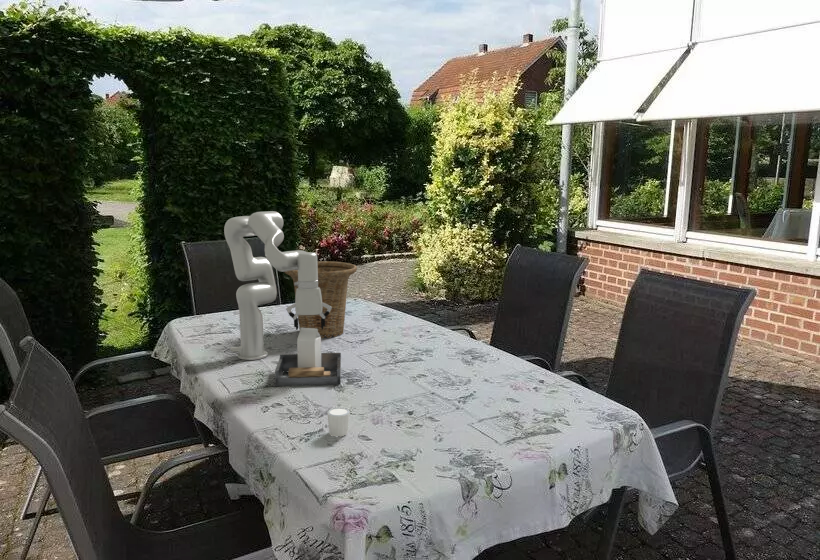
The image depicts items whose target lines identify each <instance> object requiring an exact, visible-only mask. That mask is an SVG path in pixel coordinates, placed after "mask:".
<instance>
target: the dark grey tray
mask: <svg viewBox="0 0 820 560" xmlns="http://www.w3.org/2000/svg"><path fill="white" fill-rule="evenodd" d="M341 360H342V353H341V352H321V367H324V371H330V370H334V371H336V375H331V376H319V377H290V376H287V377H286V376H285V377H283V375H284V374H283V373H284V372H283V371H289V368H298V353H280V354H279V358H278V361H277V364H276V366H275V370H274V377H275V378H274V380H275V381H274V383H275V385H274V386H275V387H290V386H291V387H292V386H293V387H295V386H296V387H297V386H300V387H301V386H329V385H331V386H332V385H336V386H337V384H340V385H341V380H342V378H341V377H342V361H341ZM330 372H331V371H330Z"/></svg>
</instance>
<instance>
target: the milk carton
mask: <svg viewBox="0 0 820 560" xmlns="http://www.w3.org/2000/svg"><path fill="white" fill-rule="evenodd" d="M296 342H297V343H296V345H297V346H296V347H297V354H298V368H308V367H321V353H322V339H321V336H320V334H319V333H318V329H313V328H300V329H299V333H298V337H297V339H296Z"/></svg>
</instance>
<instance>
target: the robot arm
mask: <svg viewBox="0 0 820 560" xmlns="http://www.w3.org/2000/svg"><path fill="white" fill-rule="evenodd" d="M283 227H284V219H283V216H282V215H281V214H280V213H279V212H277V211H275V210H274V211H273V210H272V211H271V210H270V211H269V210H268V211H256V212H253V213H251V214H250V215H242V216H241V215H240V216H235V217H231V218H229V219H228V220H226V222H225V224H224V227H223V228H224V229H223V231H224V232H223V233H224V238H225V241H226V243H227V245H228V248H229V250H230V255H231V259H232V263H233V269H234V274H235V277H236V278H237V280H238V281H241V282H247V281H255V280H258V282H251V283H246V284H243V285H240V286H239V287H238V288H237V290H236V293H235V295H236V296H235V297H236V302H237V306H238V312H239V313H238V314H239V330H240V331H239V333H240V335H239V336H240V345H239V346H230V352H232V353H237V358H238V359H240V360H243V361H255V360H261V359H264V358H267V357H268V354H269V352H268V351H267V350H265V348H264V347H265V345H264V320H263V313H262V311H261V310H260V308H259V307H258V306H260V305H264V304H270V303H273V302H274V301H276V299H277V297H278V296H277V295H278V291H277V284H276V280H275V275H274V271H273V268H274V269H275V270H276V271H278V272H283V273H285V271H292V270H298V281H297V282H293V286H294V285H295V286H298V288H297V289H296V296H295V299H294V301H295V302H294V303H292V304H291V305H289V306H287V307H285V311H287V313H288V315H289V316H290V317H291V318H292V319H293V327H294V328H295V330H296V331H297V330H299V322H298V316H299V315H318V314H319V315H320V316H321V317H322V318H321V329H323V326H325V318H326V317H327V315H328V314H329V313H330V311H331V309H332V306H330V305H327V304H325V303H323V302H322V296H321V290H320V288H319V287H318V263H317V262H318V254H317V253H316V252H311V251H310V252H308V251H306V250H301V249H300V250H299V249H298V250H297V249H296V250H288V251H281V250H279V248H278V247H279V246H280V245H281V244H282V243H283V241H284V238H285V235H284V232H283V230H282V229H283ZM254 236H257V237H258V238H259V240H261V242H262V243H263V244H264V256H257V257H256V256H255V257H254V256H253V251H252V247H251V245H250V244H249V242H248V241H247V240H246V239H245V237H254ZM322 306H323V307H325V308H327V311H326V312H325V313H323V312H322ZM292 309H295V313H293V312H292Z"/></svg>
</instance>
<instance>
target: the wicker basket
mask: <svg viewBox="0 0 820 560" xmlns="http://www.w3.org/2000/svg"><path fill="white" fill-rule="evenodd" d="M317 263H318V287H319V288H320V290H321V296H322V302H323V303H325V304H327V305H330V306H332V309H331V311H330V313H329V314H328V315H327V317H326V318H325V326H323V329H321V318H322V317H321V316H320V315H319V314H318V315H299V316H298V317H297V318H298V330H300V328H313V329H318V333H319V334H320V336H321V340H322V339H324V338H325V337H326V338H327V339H330V338H332V337H334V338H335V337H337V336H341V335H342V334H344V329H345V319H346V318H345V317H346V305H347V295H348V294H347V293H348V286H349V285H348V284H349V283H348V282H349V279H350V277H351V276H352V275H353V274H355V273H356V272H357V270H358V268H357V265H355V264H352V263H349V262H343V261H342V262H341V261H325V260H324V261H320V260H319V261H317ZM284 273H285V275H288V276H290V277H291V279H292V281H293V283H294V282H297V281H298V270H292V271H285V272H284ZM293 287H294V295H295V296H296V289H297V288H298V286H295V285H294V284H293ZM326 311H327V308H325V307H323V306H322V312H323V313H325V312H326Z"/></svg>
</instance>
